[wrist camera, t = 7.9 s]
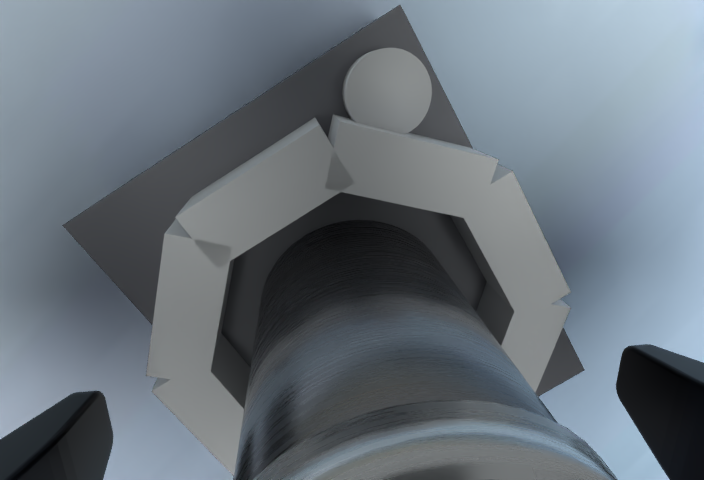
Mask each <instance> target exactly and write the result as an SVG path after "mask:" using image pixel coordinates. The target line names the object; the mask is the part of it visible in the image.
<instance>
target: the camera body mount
mask: <svg viewBox="0 0 704 480" xmlns="http://www.w3.org/2000/svg"><path fill="white" fill-rule="evenodd" d="M498 160H499V159H496V158H494V157H491V156H489V155H487V154H484V153H482V152H480V151H477V150H475V149H473V148H472V146H471V144H470V142H469V140H468V138H467V136H466V134H465V132H464V130H463V128H462V126H461V124H460V122H459V120H458V118H457V116H456V114H455V112H454V110H453V108H452V106H451V104H450V102H449V100H448V98H447V96H446V94H445V92H444V90H443V88H442V86H441V84H440V82H439V80H438V78H437V76H436V74H435V72H434V71H433V69H432V67H431V65H430V63H429V61H428V59H427V57H426V55H425V53H424V51H423V49H422V47H421V45H420V43H419V41H418V39H417V37H416V35H415V33H414V31H413V29H412V27H411V25H410V23H409V21H408V19H407V17H406V15H405V13H404V11H403V9H402V7H401V5H399V6H397V7H396V8H394V9H393V10H391V11H389V12H388V13H386V14H385V15H383V16H381V17H380V18H378V19H377V20H375V21H374V22H372V23H371V24H369V25H368V26H366V27H364V28H363V29H361V30H360V31H358V32H357V33H355V34H354V35H352V36H351V37H349V38H348V39H346V40H345V41H343V42H342V43H340V44H338V45H337V46H335V47H334V48H332V49H331V50H329V51H328V52H326V53H325V54H323V55H322V56H320V57H319V58H317V59H316V60H314V61H312V62H311V63H309V64H308V65H306V66H305V67H303V68H302V69H300V70H299V71H297V72H296V73H294V74H293V75H291V76H290V77H288V78H286V79H285V80H283V81H282V82H280V83H279V84H277V85H276V86H274V87H273V88H271V89H270V90H268V91H267V92H265V93H264V94H262V95H260V96H259V97H257V98H256V99H254V100H253V101H251V102H250V103H248V104H247V105H245V106H244V107H242V108H241V109H239V110H238V111H236V112H234V113H233V114H231V115H230V116H228V117H227V118H225V119H224V120H222V121H221V122H219V123H218V124H216V125H215V126H213V127H212V128H210V129H208V130H207V131H205V132H204V133H202V134H201V135H199V136H198V137H196V138H195V139H193V140H192V141H190V142H189V143H187V144H186V145H184V146H182V147H181V148H179V149H178V150H176V151H175V152H173V153H172V154H170V155H169V156H167V157H166V158H164V159H163V160H161V161H160V162H158V163H156V164H155V165H153V166H152V167H150V168H149V169H147V170H146V171H144V172H143V173H141V174H140V175H138V176H137V177H135V178H134V179H132V180H131V181H129V182H127V183H126V184H124V185H123V186H121V187H120V188H118V189H117V190H115V191H114V192H112V193H111V194H109V195H108V196H106V197H105V198H103V199H102V200H100V201H99V202H97V203H96V204H94V205H93V206H91V207H90V208H88V209H87V210H85V211H84V212H82V213H81V214H79V215H78V216H76V217H75V218H73V219H71V220H70V221H68V222H67V223H65V224H64V225H62V226H63V227H64V228H65V229H66V230H67V231H68V232H69V233H70V234H71V235H72V237H73V238H74V239H75V240H76V241H77V242H78V243H79V244H80V245H81V247H82V248H83V249H84V250H85V251H86V252H87V253H88V254H89V255H90V257H91V258H92V259H93V260H94V261H95V262H96V263H97V264H98V265H99V266H100V268H101V269H102V270H103V271H104V272H105V273H106V274H107V275H108V276H109V278H110V279H111V280H112V281H113V282H114V283H115V284H116V285H117V286H118V288H119V289H120V290H121V291H122V292H123V293H124V294H125V295H126V296H127V297H128V299H129V300H130V301H131V302H132V303H133V304H134V305H135V306H136V307H137V309H138V310H139V311H140V312H141V313H142V314H143V315H144V316H145V317H146V319H147V320H148V321H149V322H150V323H151V324H152V333H151V341H150V348H149V356H148V364H147V371H146V376H150V377H157V380H156V382H155V384H154V387H153V389H152V392H153V393H154V395H155V396H156V397H157V398H158V399H159V400H160V401H161V402H162V403H163V404H164V405H165V406H166V407H167V408H168V409H169V410H170V411H171V412H172V413H173V414H174V415H175V416H176V417H177V418H178V419H179V420H180V421H181V422H182V423H183V425H184V426H185V427H186V428H187V429H188V430H189V431H190V432H191V433H192V434H193V435H194V436H195V437H196V438H197V439H198V440H199V441H200V442H201V443H202V444H203V445H204V446H205V447H206V448H207V449H208V450H209V451H210V452H211V453H212V455H213V456H214V457H215V458H216V459H217V460H218V461H219V462H220V463H221V464H222V465H223V466H224V467H225V468H226V469H227V470H228V471H229V472H230V473H231V474H232V475H233V476H234V472H235V466H236V459H237V453H238V446H239V440H240V433H241V427H242V420H243V414H244V407H245V401H246V394H247V388H248V381H249V375H250V368H251V361H252V355H253V348H254V342H255V335H256V329H257V322H258V316H259V309H260V303H261V296H262V292H263V288H264V285H265V282H266V280H267V277H268V275H269V273H270V271H271V269H272V268H273V266H274V265H275V263H276V261H277V260H278V259H279V258H280V257H281V255H282V254H283V253H284V252H285V251H286V250H287V249H288V248H289V247H290V246H291V245H292V244H293V243H295V242H296V241H298V240H299V239H300V238H302V237H303V236H305V235H307V234H308V233H310V232H312V231H314V230H316V229H318V228H321V227H324V226H326V225H329V224H333V223H337V222H342V221H350V220H371V221H378V222H383V223H387V224H390V225H394V226H396V227H398V228H401V229H403V230H405V231H407V232H409V233H410V234H412V235H414V236H415V237H416V238H418V239H419V240H420V241H421V242H423V243H424V244H425V245H426V246H427V247H428V248H429V249H430V251H431V252H432V253H433V254H434V255H435V257H436V258H437V260H438V261H439V262H440V264H441V265H442V266H443V268H444V269H445V270H446V272H447V273H448V274H449V276H450V277H451V279H452V280H453V281H454V283H455V284H456V285H457V287H458V288H459V289H460V291H461V292H462V294H463V295H464V296H465V298H466V299H467V300H468V302H469V303H470V304H471V306H472V307H473V309H474V310H475V311H476V313H477V314H478V315H479V317H480V318H481V319H482V321H483V322H484V324H485V325H486V326H487V328H488V329H489V330H490V332H491V333H492V334H493V336H494V337H495V339H496V340H497V341H498V343H499V344H500V345H501V347H502V348H503V349H504V351H505V352H506V354H507V355H508V356H509V358H510V359H511V360H512V362H513V363H514V364H515V366H516V367H517V369H518V370H519V371H520V373H521V374H522V375H523V377H524V378H525V379H526V381H527V382H528V384H529V385H530V386H531V388H532V389H533V390H534V392H535V393H536V394H537V396H540V395H542V394H543V393H545V392H547V391H549V390H550V389H552V388H554V387H556V386H558V385H559V384H561V383H563V382H565V381H566V380H568V379H570V378H572V377H573V376H575V375H577V374H579V373H581V372H582V371H584V368H583V366H582V364H581V362H580V360H579V358H578V356H577V354H576V352H575V350H574V348H573V346H572V344H571V342H570V340H569V338H568V336H567V334H566V332H565V330H564V328H563V326H564V323H565V321H566V319H567V316H568V314H569V311H570V309H571V308H570V307H569V306H568V305H567V304H566V303H565V302H563V301H562V300H561V299H560V298H562V297H564V296H566V295H567V294H569V293H571V291H570V289H569V287H568V285H567V283H566V281H565V279H564V277H563V275H562V272H561V270H560V268H559V266H558V264H557V262H556V260H555V258H554V256H553V254H552V252H551V250H550V247H549V245H548V243H547V241H546V239H545V237H544V235H543V233H542V231H541V229H540V227H539V225H538V222H537V220H536V218H535V216H534V214H533V212H532V210H531V208H530V206H529V204H528V202H527V199H526V197H525V195H524V193H523V191H522V189H521V187H520V185H519V183H518V181H517V179H516V177H515V174H514V172H513V171H512V170H510V169H507V168H505V167H503V166H501V165H498V164H497V163H498Z"/></svg>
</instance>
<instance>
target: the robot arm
mask: <svg viewBox="0 0 704 480" xmlns="http://www.w3.org/2000/svg"><path fill="white" fill-rule="evenodd" d="M616 390H617V394H618V397H619V399H620V401H621V402H622V404H623V406H624V407H625V409H626V411H627V412H628V414H629V415H630V417H631V419H632V420H633V422H634V424H635V425H636V427H637V428H638V430H639V432H640V433H641V435H642V437H643V438H644V440H645V441H646V443H647V445H648V446H649V448H650V449H651V451H652V453H653V454H654V456H655V458H656V459H657V461H658V462H659V464H660V466H661V467H662V469H663V470H664V472H665V473H666V475H667V476H668V478H669V479H670V480H704V363H703V362H700V361H697V360H694V359H691V358H688V357H685V356H682V355H679V354H676V353H674V352H671V351H668V350H665V349H662V348H659V347H656V346H653V345H648V344H645V345H634V346H628V347H626V348H625V349H624V351H623V353H622V357H621V362H620V367H619V372H618V377H617V382H616ZM112 444H113V431H112V426H111V422H110V417H109V413H108V409H107V404H106V400H105V397H104V395H103V393H101V392H100V391H88V392H76V393H73V394H71V395H69V396H68V397H66V398H65V399H63V400H61V401H60V402H58V403H57V404H55V405H54V406H52V407H50V408H49V409H47V410H46V411H44V412H43V413H41V414H40V415H38V416H36V417H35V418H33V419H32V420H30V421H29V422H27V423H25V424H24V425H22V426H21V427H19V428H18V429H16V430H14V431H13V432H11V433H10V434H8V435H7V436H5V437H3V438H2V439H0V480H103V478H104V474H105V470H106V467H107V463H108V460H109V456H110V453H111V449H112Z"/></svg>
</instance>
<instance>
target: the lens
mask: <svg viewBox="0 0 704 480" xmlns="http://www.w3.org/2000/svg"><path fill="white" fill-rule="evenodd" d="M233 480H618V479H617V478H616V477H615V475H614V474H613V473H612V471H611V470H610V469H609V468H608V466H607V465H606V464H605V462H604V461H603V460H602V459H601V457H600V456H599V455H598V454H597V453H596V452H595V451H594V450H593V449H592V448H591V447H590V446H589V445H588V444H587V443H586V442H585V441H584V440H582V439H581V438H580V437H578V436H577V435H576V434H574V433H573V432H572V431H570V430H569V429H568V428H566V427H564V426H562V425H560V424H558V423H557V422H556V420H555V419H554V418H553V416H552V415H551V413H550V412H549V411H548V409H547V408H546V407H545V405H544V404H543V403H542V401H541V400H540V399H539V397H538V396H537V394H536V393H535V392H534V390H533V389H532V388H531V386H530V385H529V384H528V382H527V381H526V379H525V378H524V377H523V375H522V374H521V373H520V371H519V370H518V369H517V367H516V366H515V364H514V363H513V362H512V360H511V359H510V358H509V356H508V355H507V354H506V352H505V351H504V349H503V348H502V347H501V345H500V344H499V343H498V341H497V340H496V339H495V337H494V336H493V334H492V333H491V332H490V330H489V329H488V328H487V326H486V325H485V324H484V322H483V321H482V319H481V318H480V317H479V315H478V314H477V313H476V311H475V310H474V309H473V307H472V306H471V304H470V303H469V302H468V300H467V299H466V298H465V296H464V295H463V294H462V292H461V291H460V289H459V288H458V287H457V285H456V284H455V283H454V281H453V280H452V279H451V277H450V276H449V274H448V273H447V272H446V270H445V269H444V268H443V266H442V265H441V264H440V262H439V261H438V260H437V258H436V257H435V255H434V254H433V253H432V252H431V251H430V249H429V248H428V247H427V246H426V245H425V244H424V243H423V242H421V241H420V240H419V239H418V238H416V237H415V236H414V235H412V234H410V233H409V232H407V231H405V230H403V229H401V228H398V227H396V226H394V225H390V224H387V223H383V222H378V221H371V220H350V221H342V222H337V223H333V224H329V225H326V226H324V227H321V228H318V229H316V230H314V231H312V232H310V233H308V234H307V235H305V236H303V237H302V238H300V239H299V240H298V241H296V242H295V243H293V244H292V245H291V246H290V247H289V248H288V249H287V250H286V251H285V252H284V253H283V254H282V255H281V257H280V258H279V259H278V260H277V261H276V263H275V265H274V266H273V268H272V269H271V271H270V273H269V275H268V277H267V280H266V282H265V285H264V288H263V292H262V296H261V303H260V309H259V316H258V322H257V329H256V335H255V342H254V348H253V355H252V361H251V368H250V375H249V381H248V388H247V394H246V401H245V407H244V414H243V420H242V427H241V433H240V440H239V446H238V453H237V459H236V466H235V472H234V479H233Z"/></svg>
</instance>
